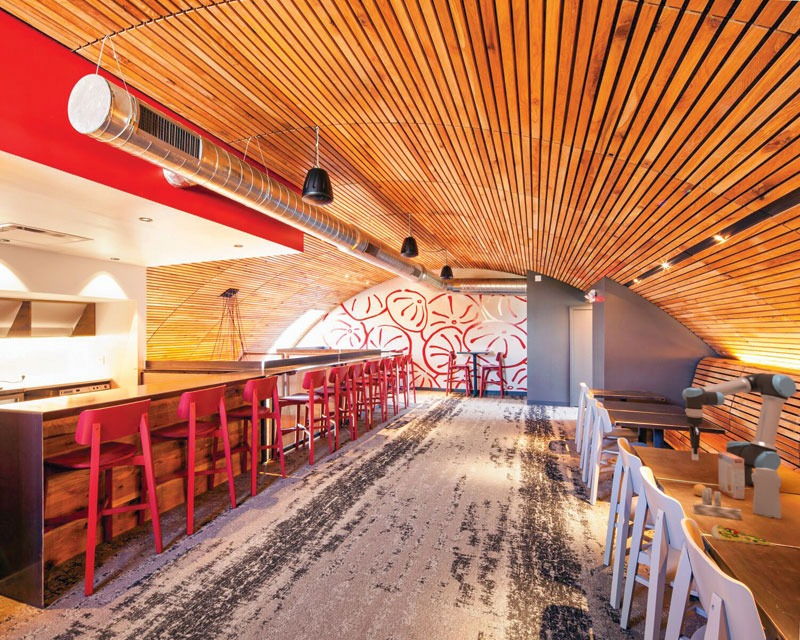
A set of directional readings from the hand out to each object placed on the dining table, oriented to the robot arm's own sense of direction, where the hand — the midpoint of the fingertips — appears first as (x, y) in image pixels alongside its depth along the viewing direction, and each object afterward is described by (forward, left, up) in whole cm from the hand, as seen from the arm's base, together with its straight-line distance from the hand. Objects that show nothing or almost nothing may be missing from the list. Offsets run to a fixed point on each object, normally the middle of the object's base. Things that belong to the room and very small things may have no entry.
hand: (695, 459), depth 234 cm
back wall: (0, +37, -16) cm, 41 cm away
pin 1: (+2, +29, -16) cm, 33 cm away
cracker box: (-16, 0, -17) cm, 23 cm away
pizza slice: (-2, +62, -17) cm, 64 cm away
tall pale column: (-22, +27, -17) cm, 39 cm away
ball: (0, +9, -13) cm, 16 cm away
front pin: (0, +24, -16) cm, 29 cm away
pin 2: (-3, +29, -16) cm, 33 cm away
